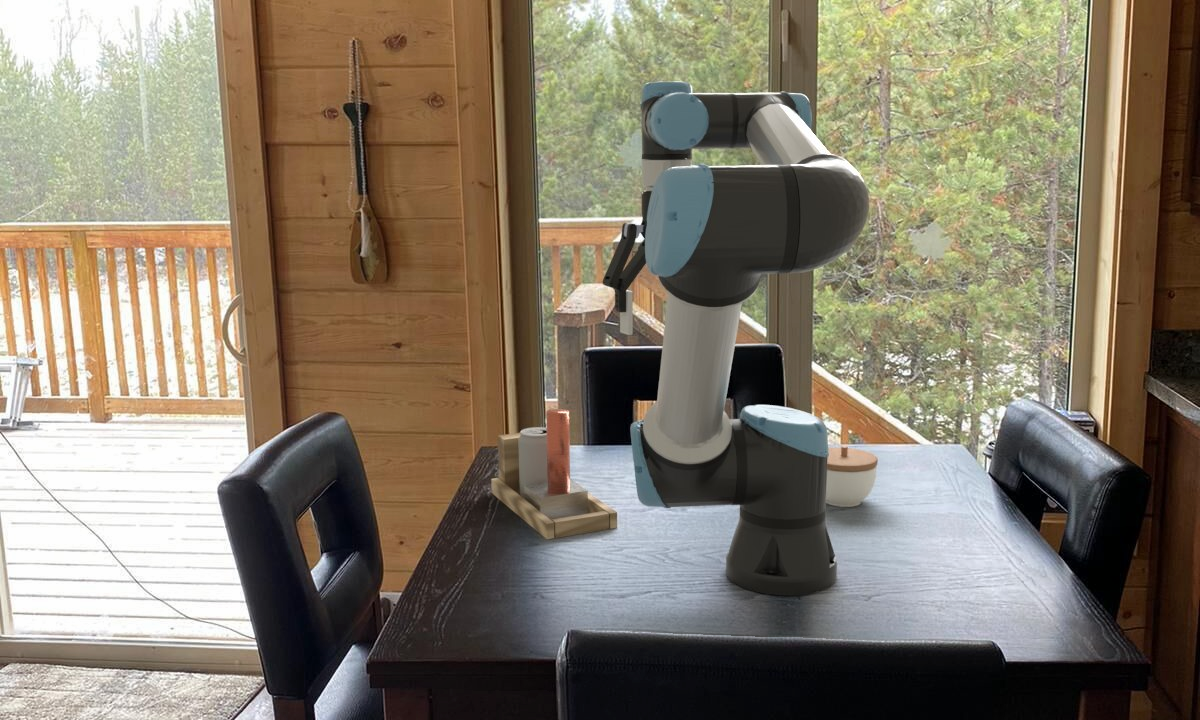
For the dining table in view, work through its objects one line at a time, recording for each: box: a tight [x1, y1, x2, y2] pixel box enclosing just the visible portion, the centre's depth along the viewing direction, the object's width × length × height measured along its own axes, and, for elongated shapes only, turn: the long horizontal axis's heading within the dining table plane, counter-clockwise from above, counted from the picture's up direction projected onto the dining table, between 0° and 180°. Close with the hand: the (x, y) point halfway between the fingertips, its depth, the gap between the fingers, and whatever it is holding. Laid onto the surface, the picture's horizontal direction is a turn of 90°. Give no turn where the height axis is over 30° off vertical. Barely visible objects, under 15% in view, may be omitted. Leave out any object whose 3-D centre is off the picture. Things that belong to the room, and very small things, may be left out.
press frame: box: [490, 432, 618, 540], centre depth 181 cm, size 25×12×10 cm, turn 25°
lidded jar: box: [826, 445, 879, 508], centre depth 184 cm, size 11×11×9 cm
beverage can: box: [518, 426, 548, 498], centre depth 186 cm, size 6×6×12 cm
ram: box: [524, 408, 589, 521], centre depth 179 cm, size 7×8×17 cm
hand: (666, 330), depth 170 cm, fingers open, 13 cm apart
